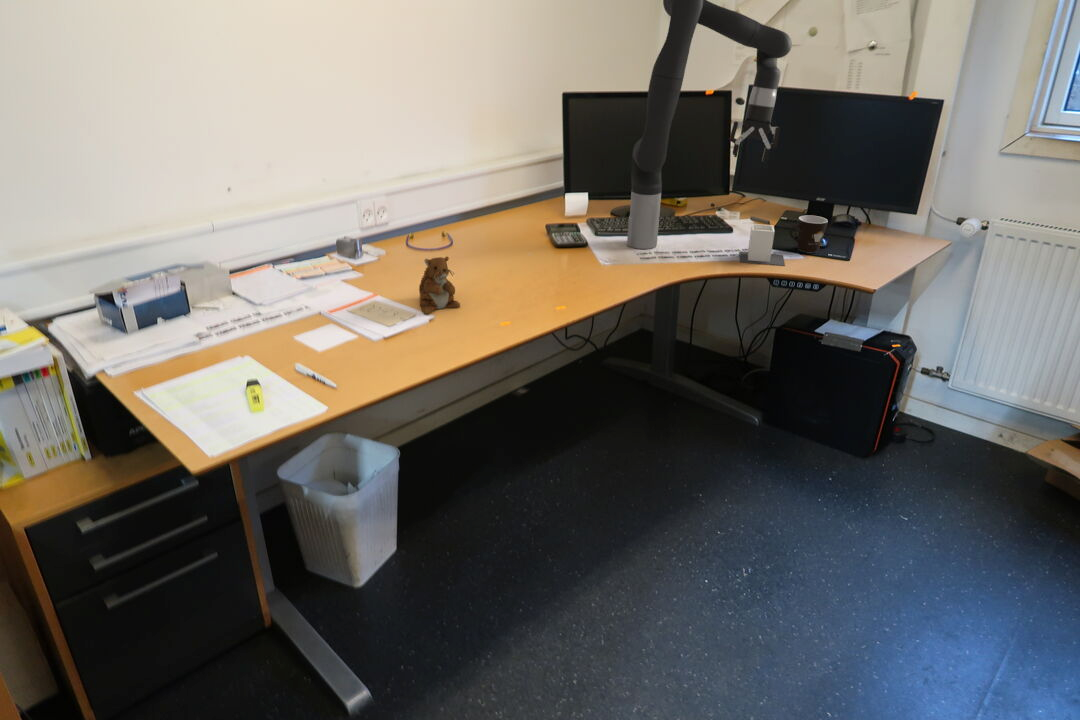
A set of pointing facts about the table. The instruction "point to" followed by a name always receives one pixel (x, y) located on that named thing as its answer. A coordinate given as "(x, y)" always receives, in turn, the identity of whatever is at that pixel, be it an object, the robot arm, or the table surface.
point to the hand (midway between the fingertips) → (749, 159)
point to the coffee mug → (810, 232)
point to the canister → (760, 242)
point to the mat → (774, 260)
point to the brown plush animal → (436, 286)
